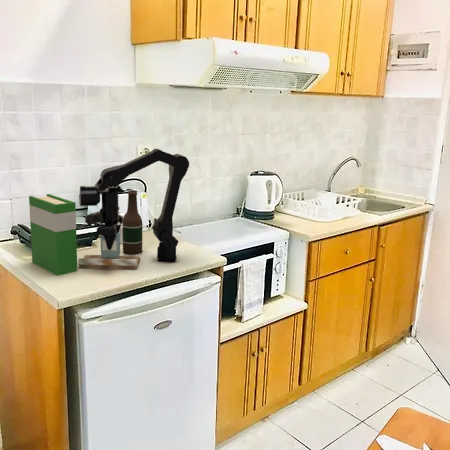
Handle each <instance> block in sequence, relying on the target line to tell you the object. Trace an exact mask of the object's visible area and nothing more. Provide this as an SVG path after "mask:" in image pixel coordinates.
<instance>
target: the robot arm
mask: <svg viewBox="0 0 450 450" xmlns="http://www.w3.org/2000/svg"><path fill="white" fill-rule="evenodd" d="M157 162H160V163H164V164H166V165H168V176H169V178H168V182H167V188H166V189H165V190H166V191H165V196H164V200H163V204H162V206H161V212H160V215H159V217H158V218H156V217H155V218H154V219H153V225H152V227H151V229H152V232H153V235H154V237H155V238H156V239H157V240H158V242H159V243H158V246H157V249H156V250H157V251H156V252H157V253H156V254H157V259H158V262H159V263H161V262H163V263H164V262H165V263H166V262H167V263H169V262H170V263H176V262H177V247H178V244H179V240H178V239H177V238H176V237H175V236H174V235H173V233H174V232H173V230H174V225H173V224H174V223H173V216H174V213H175V208H176V204H177V199H178V196H179V193H180V192H179V191H180V187H181V184H182V181H183V179H184V178H185V176H186V174H187V171H188V170H189V168H190V161H189V159H188V158H187V157H186V156H184V155H182V154H180V153H175V154H171V153H169V152H165V151H163V150H161V149H159V148H153V149H151V151H149V152H148V151H147V153H144V154H143V155H140V156H138V157H135V158H134V159H132V160H130V161H127V162H125V163H124V164H120V165H114V166H111V167H107V168H105V169H103V170H101V173H100V175H99V176H100V178H99V179H98V180H97V182H96V183H95V185H94V186H93V185H92V186H85V185H80V186H79V195H78V200H79V202H78V204H79V206H80V207H92V206H93V207H94V206H95V207H97V206H98V205H99V204H100V203H101V207H100V209H99V211H95V212H90V214H89V213H88V214H87V215H85V217H84V220H85V223H86V225H87V226H88V227H89V226H92V225H94V224H99V226H97V228H96V235H97V236H101V235H102V236H104V238H105V242H106V245H107V248H108V250H111V249H112V246H113V243H114V240H115V238H116V235H117V233H119V230H120V228H121V225H117V224H118V222H120V224H122V223H123V217H122V216H121V215H118V212H119V211H120V206H119V194H120V193H121V194H122V193H123V194H124V193H125V190H124V189H123V188H121V187H122V186H120V185H119V184H120V183H122V182H123V181H124V180H125V179H126V178H128V177H129V176H131V175H133V174H134V173H136V172H138V171H140V170H142V169H145V168H147V167H149V166H151V165H153V164H155V163H157Z"/></svg>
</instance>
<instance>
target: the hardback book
mask: <svg viewBox="0 0 450 450" xmlns="http://www.w3.org/2000/svg"><path fill="white" fill-rule="evenodd" d="M28 201H29V202H28V204H29V206H28V207H29V221H30V224H29V226H30V240H31V241H30V242H31V245H30V246H31V260H32V261H31V262H32V264H35V266H36V265H37V266H39V267H40V268H42V269H44V270H46V271H48V272H49V273H51V274H53V275H56V276H62V275H63V276H64V275H66V274H70V273H71V274H72V273H74V272H78V249H77V248H78V247H77V245H78V243H77V240H78V239H77V213H76V211H77V208H76V205H77V204H76V202H75V201H72V200H69V199H66V198H63V197H60V196H56V195H54V194H51V193H47V194H46V195H45V196H39V197H36V196H33V195H29V196H28Z"/></svg>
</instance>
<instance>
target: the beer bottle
mask: <svg viewBox="0 0 450 450" xmlns="http://www.w3.org/2000/svg"><path fill="white" fill-rule="evenodd" d="M127 195H128V197H127V198H128V199H127V210H126V212H125V213H124V218H123V243H122V252H123V254H125V255H127V256H138V255H140V254H141V253H142V252H143V220H142V219H143V218H142V217H141V215H140V213H139V210H138V192H137V190H128V191H127Z"/></svg>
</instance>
